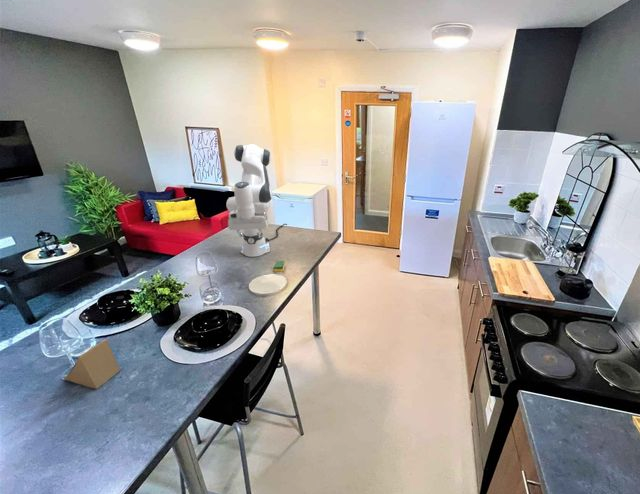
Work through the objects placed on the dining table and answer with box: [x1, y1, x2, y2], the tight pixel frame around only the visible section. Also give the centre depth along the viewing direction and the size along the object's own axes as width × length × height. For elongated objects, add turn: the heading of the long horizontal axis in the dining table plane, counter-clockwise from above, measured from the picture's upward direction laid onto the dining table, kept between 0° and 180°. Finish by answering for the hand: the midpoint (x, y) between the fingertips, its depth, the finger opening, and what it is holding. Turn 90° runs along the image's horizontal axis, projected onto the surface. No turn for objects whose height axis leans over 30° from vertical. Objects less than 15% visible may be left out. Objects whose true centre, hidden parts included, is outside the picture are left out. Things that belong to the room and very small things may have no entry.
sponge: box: [273, 260, 286, 273], centre depth 174 cm, size 8×5×4 cm, turn 7°
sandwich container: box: [64, 338, 121, 390], centre depth 101 cm, size 9×15×15 cm, turn 76°
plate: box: [248, 273, 288, 295], centre depth 159 cm, size 20×20×2 cm
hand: (250, 236), depth 162 cm, fingers open, 8 cm apart
